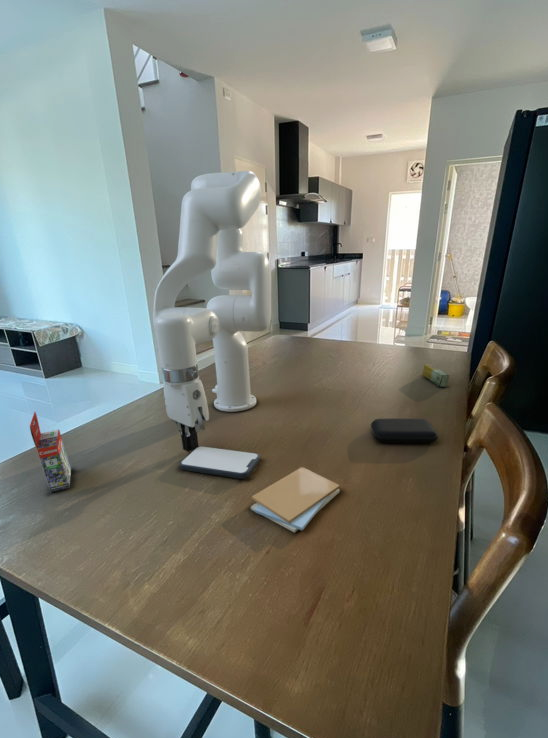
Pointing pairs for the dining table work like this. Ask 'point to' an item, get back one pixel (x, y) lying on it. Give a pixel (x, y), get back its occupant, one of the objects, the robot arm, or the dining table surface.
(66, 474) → the ink box
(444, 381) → the medication box
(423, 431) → the carrying case
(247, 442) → the dining table surface
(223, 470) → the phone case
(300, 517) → the envelope pile
